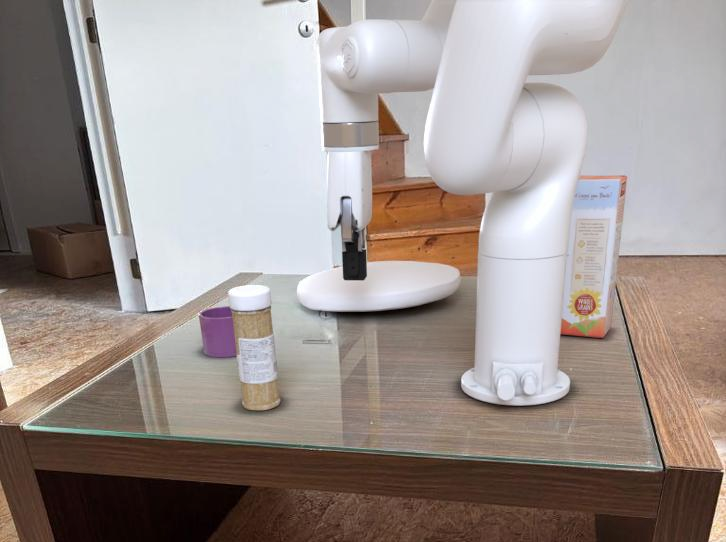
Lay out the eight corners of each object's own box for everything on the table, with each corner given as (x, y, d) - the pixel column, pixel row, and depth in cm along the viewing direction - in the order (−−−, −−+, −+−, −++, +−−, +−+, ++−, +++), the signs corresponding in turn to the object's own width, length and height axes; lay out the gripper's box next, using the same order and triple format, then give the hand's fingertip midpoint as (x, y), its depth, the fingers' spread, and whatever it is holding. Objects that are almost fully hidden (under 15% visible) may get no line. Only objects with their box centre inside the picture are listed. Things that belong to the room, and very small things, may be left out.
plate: (280, 294, 114) (308, 262, 137) (288, 334, 117) (314, 296, 140) (460, 270, 110) (457, 241, 133) (463, 313, 112) (460, 277, 136)
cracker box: (611, 328, 106) (630, 173, 97) (603, 340, 102) (621, 178, 92) (517, 320, 112) (526, 174, 103) (505, 331, 107) (513, 178, 98)
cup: (243, 357, 101) (239, 318, 99) (197, 357, 102) (191, 318, 100) (257, 343, 107) (253, 306, 105) (213, 343, 108) (208, 306, 106)
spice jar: (250, 397, 87) (236, 283, 81) (286, 398, 86) (275, 283, 80) (236, 411, 83) (220, 293, 77) (274, 413, 82) (261, 293, 76)
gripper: (333, 135, 103) (339, 267, 111) (310, 142, 90) (318, 291, 98) (385, 134, 102) (387, 268, 110) (370, 140, 89) (373, 292, 97)
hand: (355, 278), depth 104 cm, fingers closed
